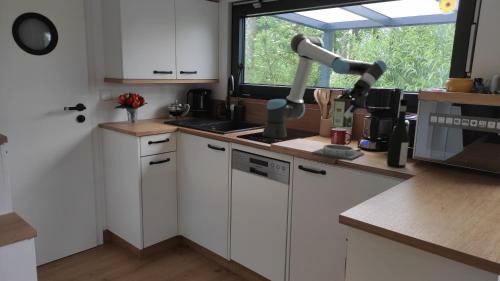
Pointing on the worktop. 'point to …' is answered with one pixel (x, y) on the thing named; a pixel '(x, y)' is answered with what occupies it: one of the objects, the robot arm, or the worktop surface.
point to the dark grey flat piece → (339, 152)
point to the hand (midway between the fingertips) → (337, 115)
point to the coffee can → (341, 113)
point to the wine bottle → (399, 140)
